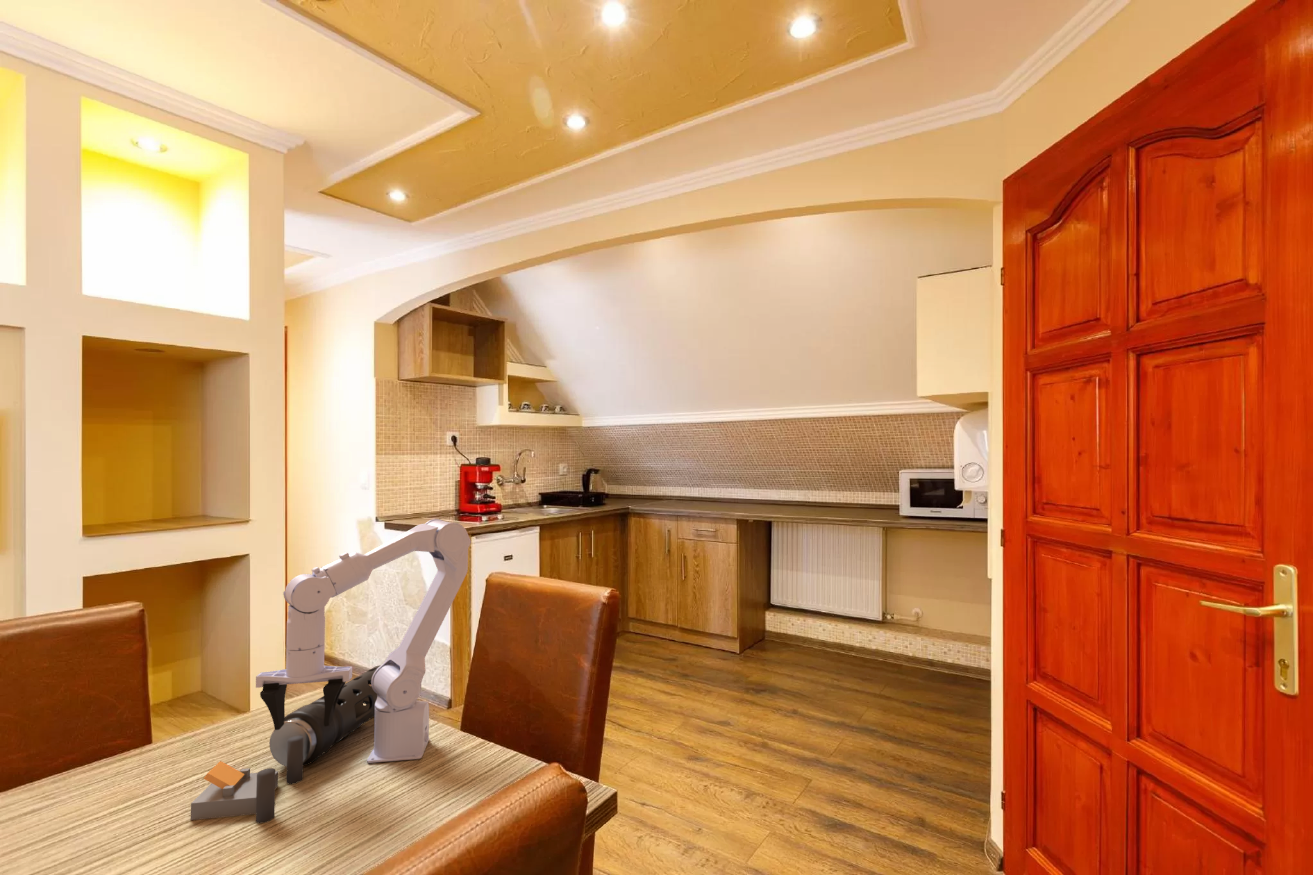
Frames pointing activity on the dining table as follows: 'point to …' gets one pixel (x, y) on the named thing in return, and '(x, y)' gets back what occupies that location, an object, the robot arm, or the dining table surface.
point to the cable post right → (294, 759)
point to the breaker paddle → (223, 775)
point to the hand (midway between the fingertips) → (304, 725)
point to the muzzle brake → (312, 720)
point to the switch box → (228, 798)
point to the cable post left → (265, 795)
